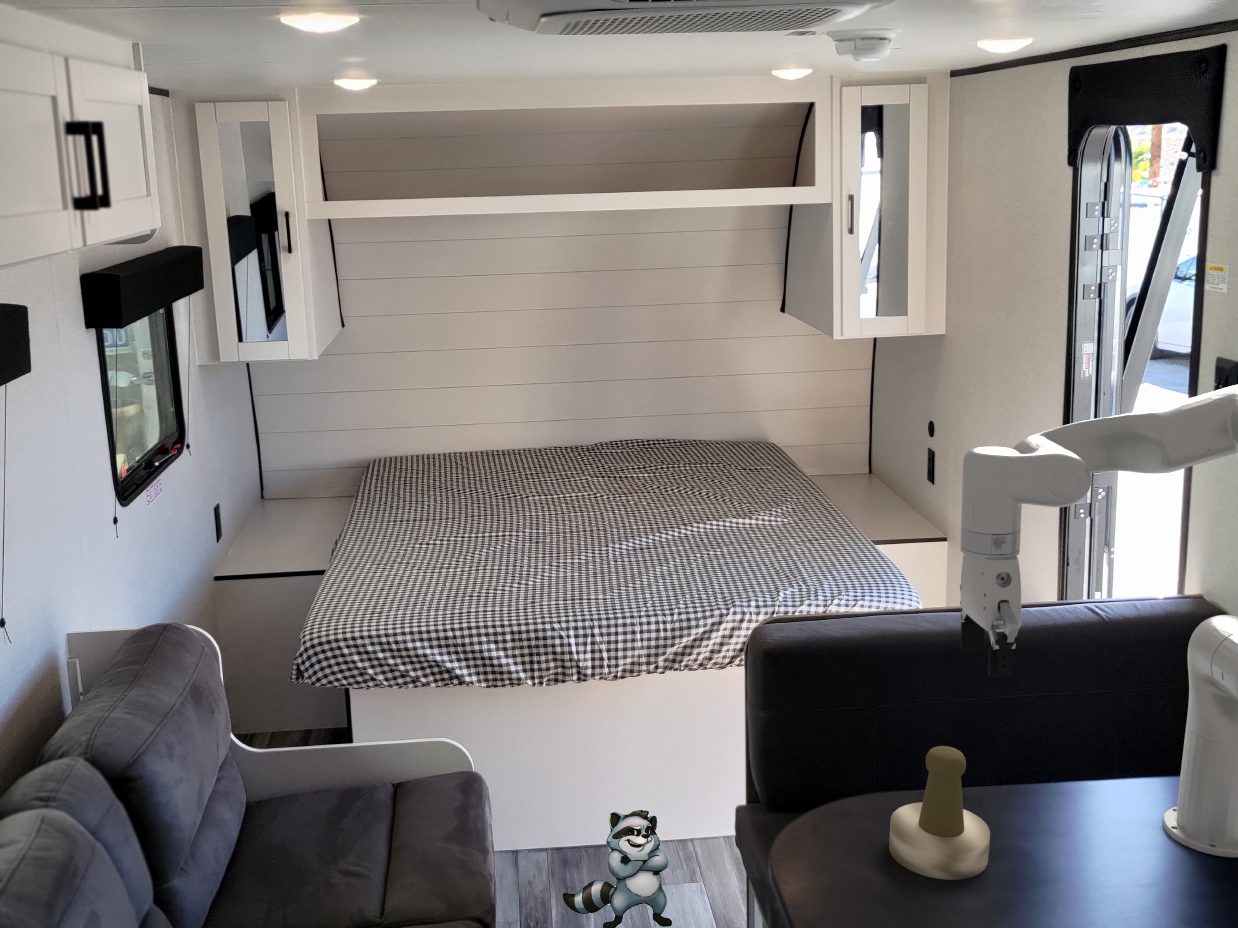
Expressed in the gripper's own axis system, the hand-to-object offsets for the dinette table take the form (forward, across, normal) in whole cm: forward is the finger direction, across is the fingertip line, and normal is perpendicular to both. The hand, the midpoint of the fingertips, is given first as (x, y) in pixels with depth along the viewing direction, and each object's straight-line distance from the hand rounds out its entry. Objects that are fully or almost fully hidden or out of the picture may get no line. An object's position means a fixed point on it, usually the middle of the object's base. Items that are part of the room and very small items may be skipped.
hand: (985, 661), depth 156 cm
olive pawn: (+22, -4, +7) cm, 23 cm away
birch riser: (+25, -4, +8) cm, 27 cm away
